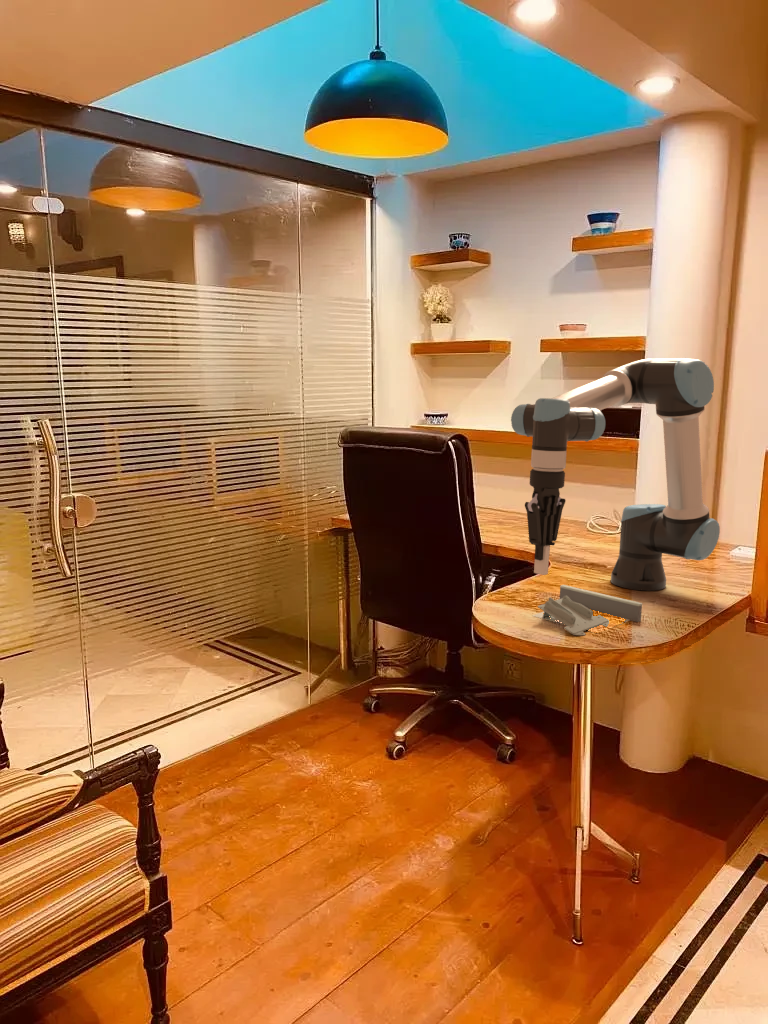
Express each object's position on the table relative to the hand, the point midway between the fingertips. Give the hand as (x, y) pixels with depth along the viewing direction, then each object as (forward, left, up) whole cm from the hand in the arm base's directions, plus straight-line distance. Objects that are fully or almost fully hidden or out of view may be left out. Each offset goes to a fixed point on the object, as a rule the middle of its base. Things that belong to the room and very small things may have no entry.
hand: (540, 573), depth 176 cm
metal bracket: (-13, 0, -15) cm, 20 cm away
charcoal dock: (-20, 0, -15) cm, 25 cm away
